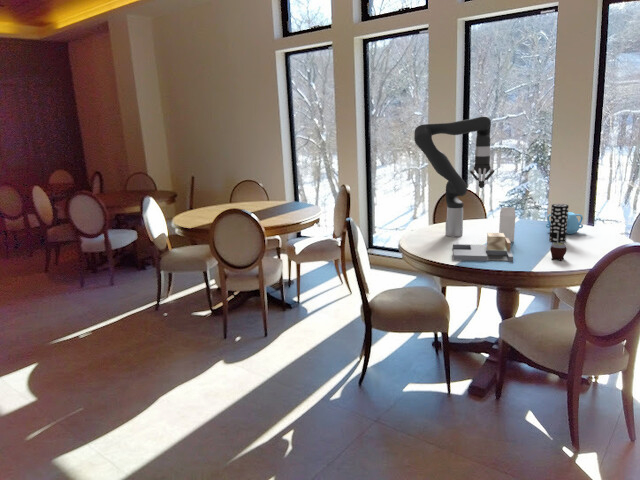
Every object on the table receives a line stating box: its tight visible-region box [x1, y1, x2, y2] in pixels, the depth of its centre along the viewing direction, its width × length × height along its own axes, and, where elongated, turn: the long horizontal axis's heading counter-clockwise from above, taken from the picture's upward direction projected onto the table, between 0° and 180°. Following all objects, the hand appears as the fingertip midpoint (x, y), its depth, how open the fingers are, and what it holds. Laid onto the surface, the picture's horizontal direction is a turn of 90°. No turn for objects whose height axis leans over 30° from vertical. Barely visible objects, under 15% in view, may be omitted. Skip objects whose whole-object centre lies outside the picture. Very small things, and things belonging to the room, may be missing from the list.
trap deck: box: [452, 238, 514, 262], centre depth 255 cm, size 28×22×6 cm
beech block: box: [486, 232, 505, 250], centre depth 258 cm, size 8×8×7 cm
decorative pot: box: [545, 209, 584, 235], centre depth 293 cm, size 16×16×14 cm
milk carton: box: [498, 206, 516, 243], centre depth 280 cm, size 7×7×19 cm
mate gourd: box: [549, 232, 568, 262], centre depth 241 cm, size 8×8×15 cm
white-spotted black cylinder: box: [548, 203, 570, 243], centre depth 274 cm, size 8×8×20 cm
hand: (481, 187), depth 265 cm, fingers closed
